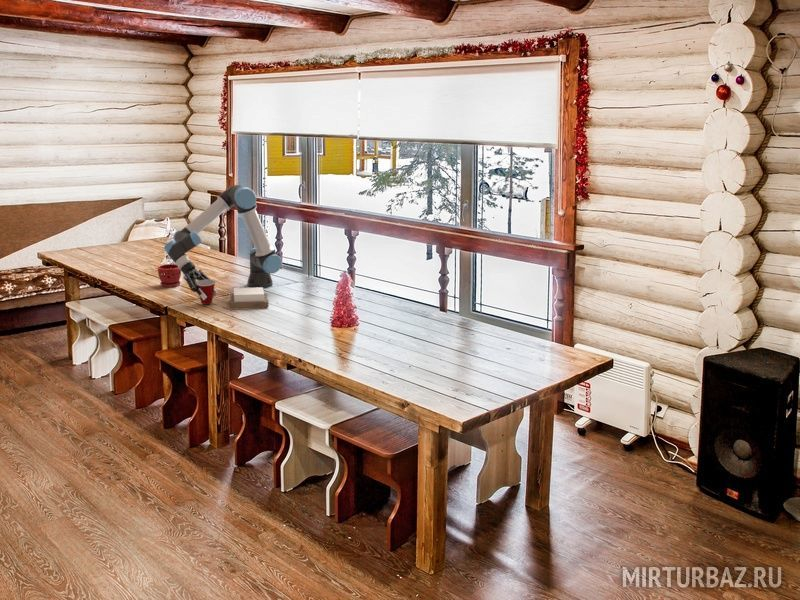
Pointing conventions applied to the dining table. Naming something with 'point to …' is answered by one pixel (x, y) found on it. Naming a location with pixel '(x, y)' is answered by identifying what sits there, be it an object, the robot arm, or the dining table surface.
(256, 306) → the tower base slab
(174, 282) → the plant pot
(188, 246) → the robot arm
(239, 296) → the tower top slab
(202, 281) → the plastic cup
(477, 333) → the dining table surface
